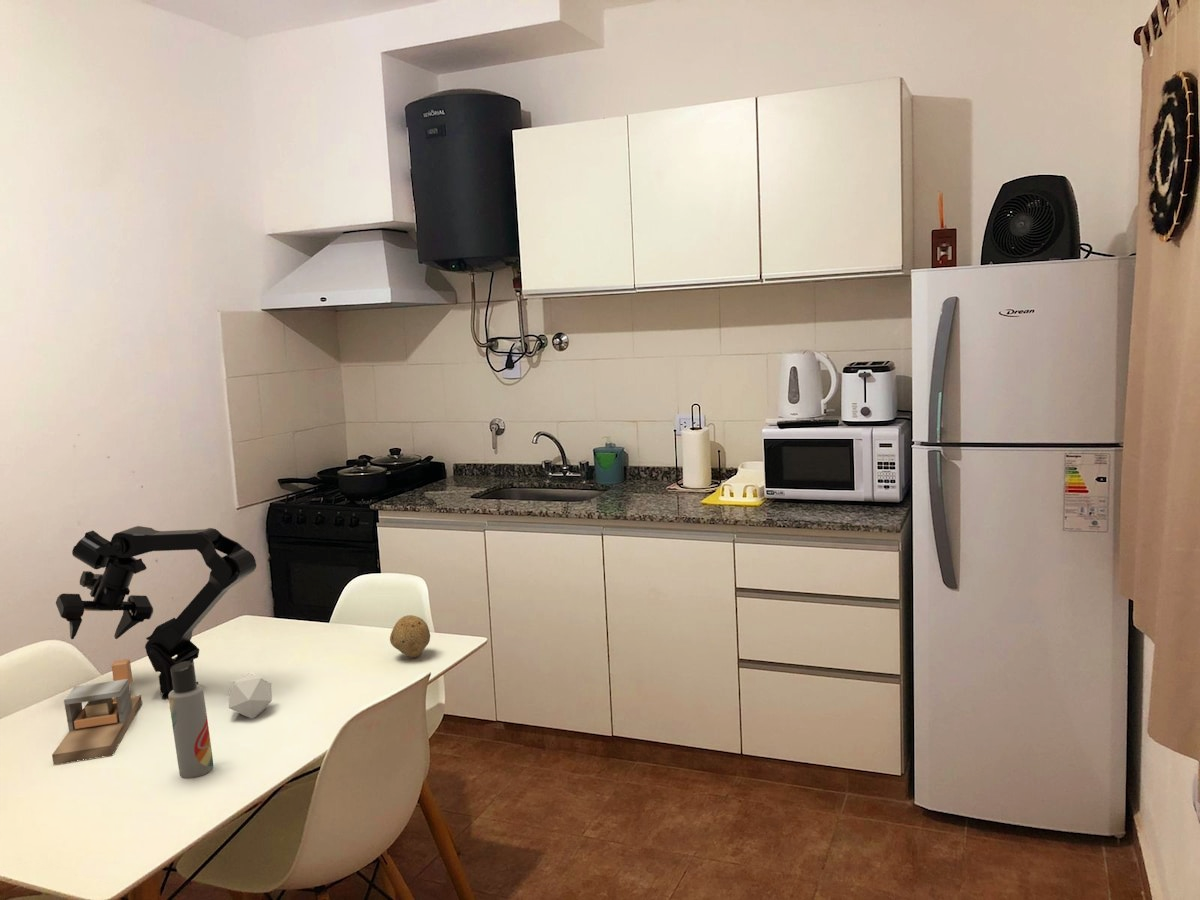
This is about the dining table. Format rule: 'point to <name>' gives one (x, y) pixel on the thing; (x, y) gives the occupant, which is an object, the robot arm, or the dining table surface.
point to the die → (250, 695)
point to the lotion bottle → (189, 722)
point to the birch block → (99, 708)
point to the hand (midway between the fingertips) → (93, 637)
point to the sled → (120, 672)
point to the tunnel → (102, 736)
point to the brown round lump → (410, 635)
